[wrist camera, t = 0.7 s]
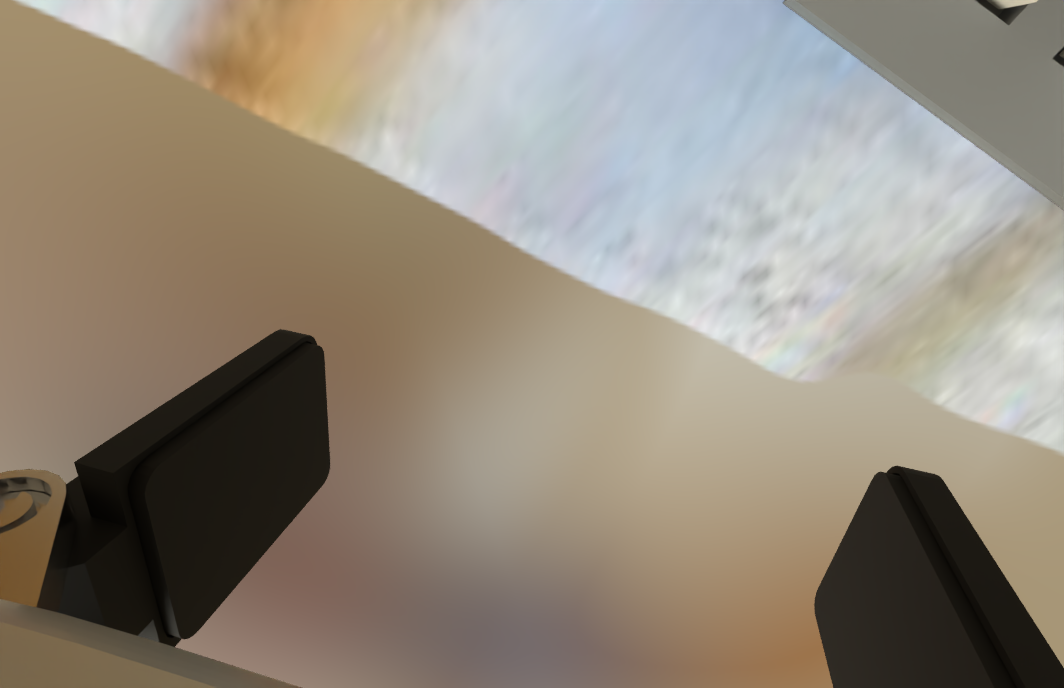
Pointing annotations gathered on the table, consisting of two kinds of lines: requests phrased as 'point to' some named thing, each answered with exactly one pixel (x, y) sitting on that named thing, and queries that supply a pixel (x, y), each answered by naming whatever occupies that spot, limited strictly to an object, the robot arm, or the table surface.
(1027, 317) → the table surface
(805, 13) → the tile board
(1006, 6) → the tile three
